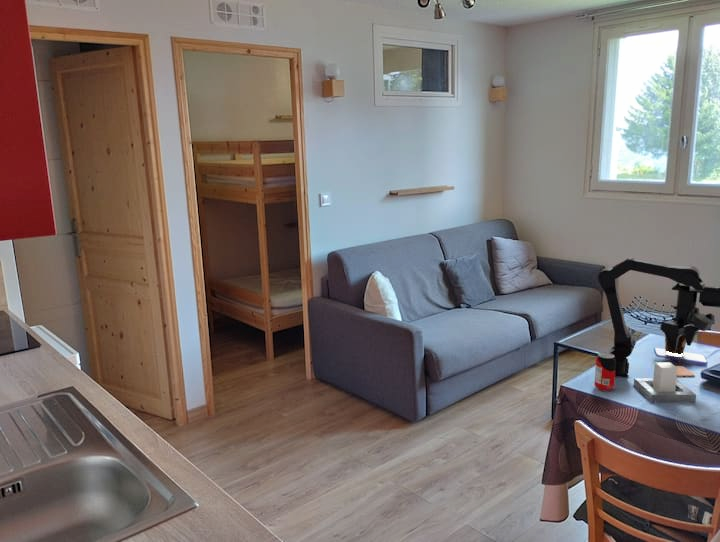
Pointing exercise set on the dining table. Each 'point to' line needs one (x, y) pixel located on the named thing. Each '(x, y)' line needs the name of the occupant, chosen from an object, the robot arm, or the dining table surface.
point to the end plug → (664, 377)
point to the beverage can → (605, 371)
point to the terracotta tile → (683, 372)
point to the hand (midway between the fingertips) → (681, 347)
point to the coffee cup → (680, 345)
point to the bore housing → (678, 396)
